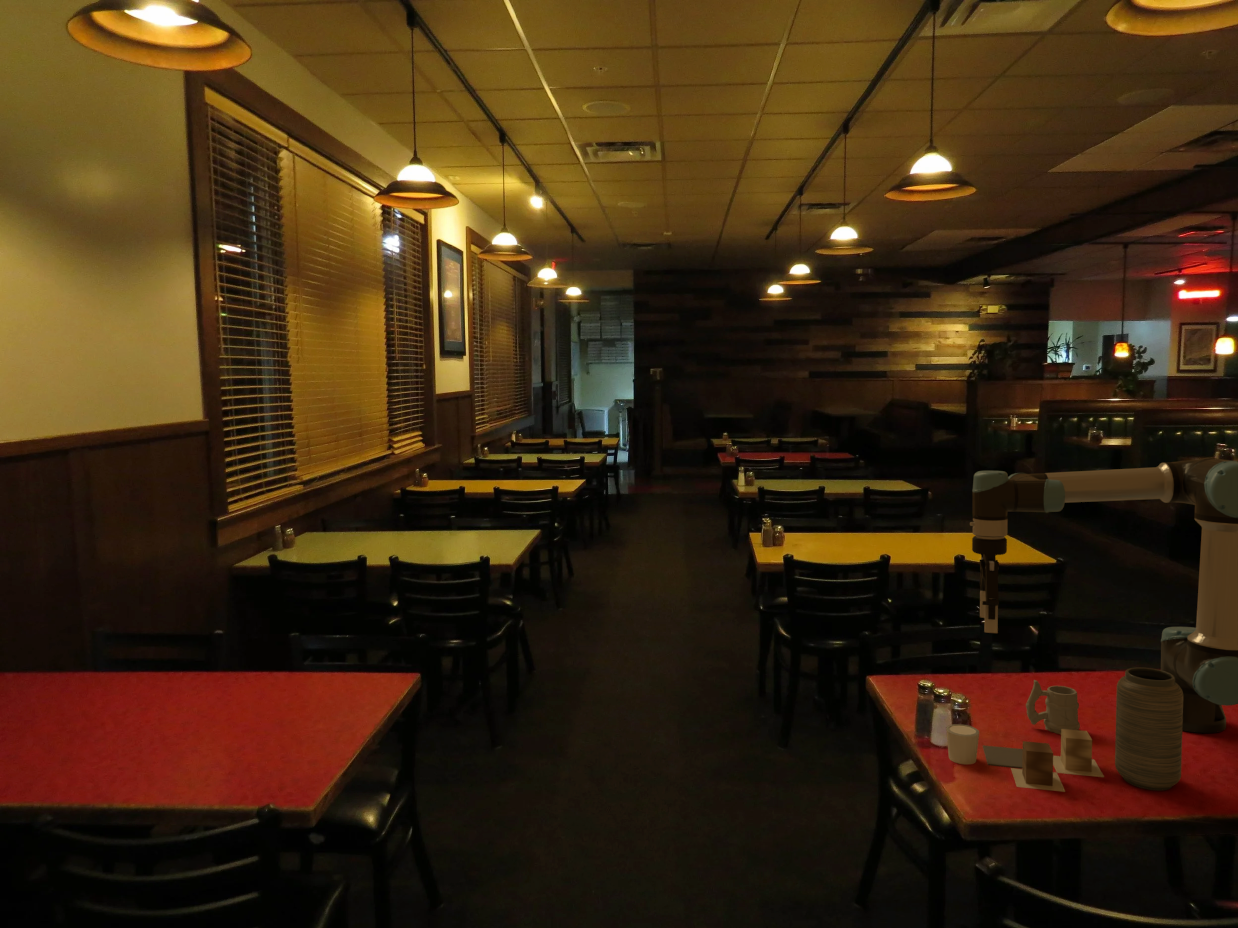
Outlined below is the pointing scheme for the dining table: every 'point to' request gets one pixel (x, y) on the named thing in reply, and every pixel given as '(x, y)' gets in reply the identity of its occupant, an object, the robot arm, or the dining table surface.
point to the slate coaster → (1003, 756)
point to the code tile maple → (1060, 769)
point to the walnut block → (1037, 763)
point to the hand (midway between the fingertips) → (988, 624)
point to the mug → (1055, 708)
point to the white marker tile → (1021, 783)
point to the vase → (1149, 729)
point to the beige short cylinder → (962, 743)
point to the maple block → (1076, 750)
